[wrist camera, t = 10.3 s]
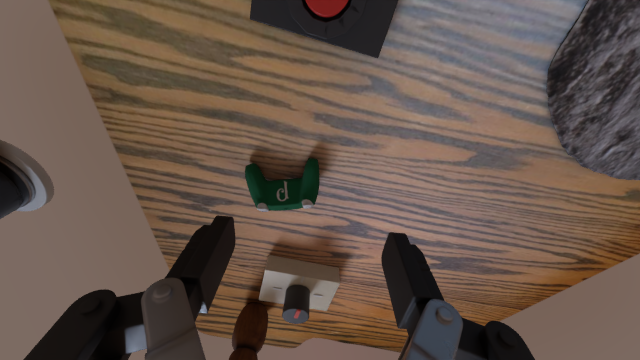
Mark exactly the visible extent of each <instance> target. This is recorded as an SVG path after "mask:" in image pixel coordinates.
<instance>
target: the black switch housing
mask: <svg viewBox="0 0 640 360" xmlns="http://www.w3.org/2000/svg"><path fill="white" fill-rule="evenodd" d="M397 2H398V0H348V2H347V4H346V5H345V7H344V8H343V9H342V10H341V11H340V12H339V13H338V14H336V15H335V16H332V17H321V16H318V15H317V14H315V13H314V12H313V11H312V10H311V9H310V8H309V6H308V5H307V3H306V0H252V3H251V13H250V19H251V20H254V21H257V22H261V23H264V24H267V25H270V26H274V27H277V28H280V29H283V30H287V31H290V32H293V33H297V34H300V35H303V36H306V37H310V38H313V39H316V40H320V41H323V42H326V43H329V44H333V45H336V46H339V47H342V48H346V49H349V50H352V51H356V52H359V53H362V54H365V55H369V56H372V57H375V58H378V57H379V54H380V51H381V48H382V45H383V42H384V40H385V37H386V34H387V31H388V28H389V25H390V22H391V19H392V17H393V14H394V11H395V8H396V5H397Z"/></svg>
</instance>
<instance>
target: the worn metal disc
mask: <svg viewBox="0 0 640 360" xmlns="http://www.w3.org/2000/svg"><path fill="white" fill-rule="evenodd" d="M547 94H548V97H549V98H548V105H549V110H550V114H551V118H552V122H553V124H554V127H555V129H556V131H557V134H558V137H559V139H560V142H561V144H562V147H564V148H565V149H566V151H567V153H568V155H570V156H573V157H575V158H576V160H577V161H578V162H579V164H580V165H581V166H582V167H586V168H589V169H591V170H592V171H594V172H599V173H604V174H607V175H608V176H610V177H614V178H618V179H627V180H632V179H634V180H640V0H588V2H587V4H586V6H585V8H584V10H583V12H582V14H581V15H580V17H579V19H578V20H577V22H576V23H575V25H574V26H573V28H572V30H571V31H570V33H569V34H568V36H567V37H566V39H565V40H564V42H563V44H562V45H561V47H560V48H559V50H558V51H557V53H556V55H555V57H554V59H553V61H552V63H551V65H550V67H549V69H548V80H547Z"/></svg>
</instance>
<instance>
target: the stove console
mask: <svg viewBox="0 0 640 360" xmlns="http://www.w3.org/2000/svg"><path fill="white" fill-rule="evenodd" d="M339 284H340V276H339V268H338V267H333V266H327V265H322V264H316V263H311V262H306V261H300V260H295V259H290V258H284V257H279V256H273V255H269V256H268V260H267V264H266V268H265V273H264V277H263V282H262V286H261V291H260V295H259V300H262V301H268V302H274V303H281V304H284V300H285V293H286V289H287V288H288V287H289V286H292V285H303V286H306V287H307V288H308V289H309V290H310V306H309V308H312V309H318V310H324V311H327V309H328V307H329V305H330V303H331V301H332V299H333V297H334V294H335V292H336V290H337V288H338V286H339Z"/></svg>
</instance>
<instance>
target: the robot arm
mask: <svg viewBox="0 0 640 360" xmlns="http://www.w3.org/2000/svg"><path fill="white" fill-rule="evenodd" d="M35 195H36V191H35V187H34V185H33V183H32V181H31V180H30V178H29V177H28V176H27V175H26V174H25V173H24V172H23V171H22V170H21V169H20V168H19V167H18V166H16V165H15V164H14V163H12V162H11V161H9V160H8V159H6V158H4V157H2V156H0V219H1V218H3V217H4V216H6V215H8V214H10V213H11V212H13V211H15V210H17V209H18V208H20V207H23V206H25V205H27V204H29V203H30V202H32V201H33V200H34V198H35ZM234 247H235V229H234V219H233V217H228V216H216V217H215V219H214V220H213V222H212V224H211V225H203V226H202V227H201V228H200V229H198V230H197V231H196V232H195V233H194V234H193V236H192V237H191V239H190V241H189V242H188V244H187V245H186V247H185V249H184V250H183V251H182V253H181V254H180V256H179V257H178V259H177V260H176V262H175V264H174V265H173V267H172V268H171V270H170V271H169V273H168V274H167V276H166V277H165V278H164V279H162V280H159V281H157V282H155V283H154V284H152V285H151V286H150V287H149V288H148V289H147V290H146V291H144V292H140V293H135V294H131V295H125V296H120V297H116V295H115V293H114V292H112V291H110V290H97V291H93V292H91V293H88V294H86V295H84V296H82V297H81V298H79V299H78V300H76V301H75V302H74V303H73V304H72V305H71V306H70V307H69V308H68V309H67V310H66V311H65V312H64V314H63V315H62V316H61V317H60V318H59V319H58V321H57V322H56V323H55V324H54V325H53V326H52V328H51V329H50V330H49V331H48V332H47V333H46V334H45V336H44V337H43V338H42V339H41V340H40V341H39V343H38V344H37V345H36V346H35V347H34V348H33V349H32V351H31V352H30V353H29V354H28V355H27V356H26V358H25V359H24V360H128V358H129V357H130V355H131V353H132V352H136V351H139V350H143V349H147V353H146V354H145V360H206V359H205V355H204V352H203V348H202V345H201V342H200V338H199V335H198V331H197V328H196V325H195V320H196V318H197V316H198V314H199V313H208V311H209V308H210V306H211V303H212V301H213V299H214V296H215V294H216V291H217V289H218V287H219V284H220V282H221V280H222V277H223V275H224V272H225V270H226V268H227V265H228V263H229V260H230V258H231V256H232V253H233V251H234ZM382 267H383V271H384V275H385V279H386V282H387V286H388V290H389V294H390V298H391V302H392V306H393V310H394V314H395V318H396V322H397V326H398V328H400V329H407V332H408V335H409V336H408V338H407V340H406V342H405V344H404V347H403V349H402V351H401V354H400V356H399V358H398V360H535V359H534V357H533V356H532V354H531V352H530V350H529V349H528V347H527V345H526V344H525V342H524V341H523V339H522V338H521V337H520V336H519V334H518V333H517V332H516V331H514V330H513V329H512V328H511V327H509V326H508V325H506V324H504V323H501V322H498V321H490V322H488V323H487V324H486V325H485V326H482V325H480V324H477V323H475V322H472V321H469V320H467V319H464V318H462V317H461V316H460V314H459V313H458V311H457V310H456V309H455V308H454V307H453V306H452V305H450V304H449V303H447V302H445V301H444V299H443V297H442V294H441V292H440V290H439V288H438V286H437V283H436V281H435V279H434V277H433V275H432V272H431V271H430V268H429V266H428V264H427V261H426V259H425V257H424V255H423V253H422V252H421V251H420V249H419V248H418V247H417V246H416V245H413V244H410V242H409V240H408V238H407V235H406V234H404V233H394V232H390V233H389V235H388V237H387V240H386V243H385V246H384V249H383V252H382Z"/></svg>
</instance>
